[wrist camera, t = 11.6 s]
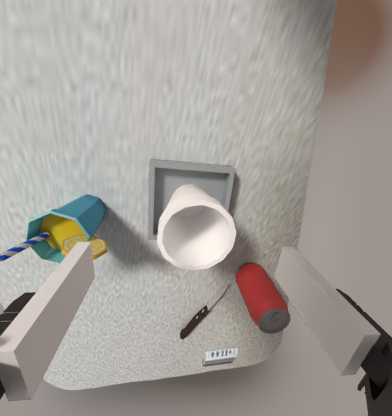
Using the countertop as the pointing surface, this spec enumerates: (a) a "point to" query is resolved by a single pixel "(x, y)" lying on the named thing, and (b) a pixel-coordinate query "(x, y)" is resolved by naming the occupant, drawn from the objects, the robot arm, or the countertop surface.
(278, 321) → the beer can
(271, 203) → the countertop surface
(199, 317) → the kitchen knife
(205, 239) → the foam cup
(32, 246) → the cup
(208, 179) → the tray
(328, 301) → the robot arm
